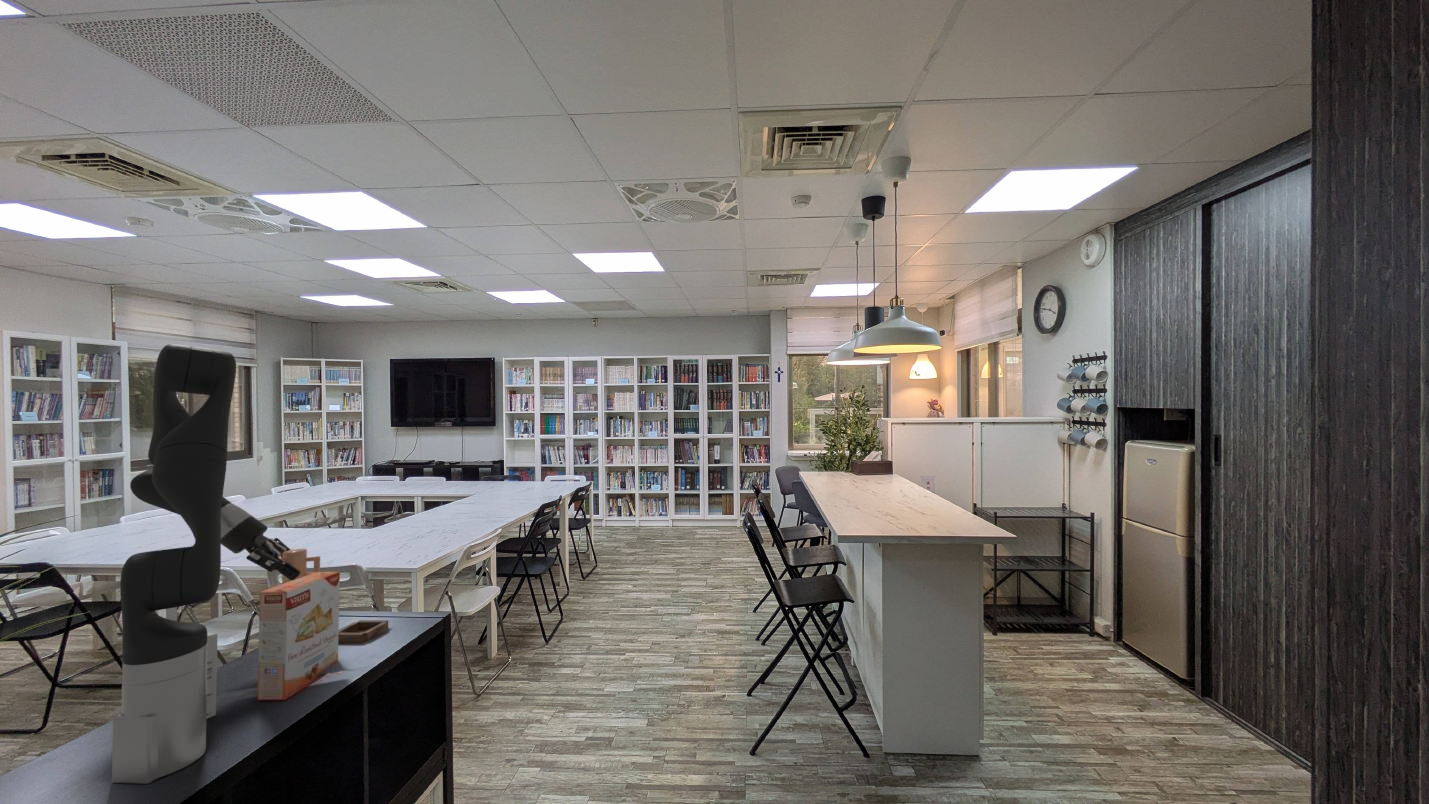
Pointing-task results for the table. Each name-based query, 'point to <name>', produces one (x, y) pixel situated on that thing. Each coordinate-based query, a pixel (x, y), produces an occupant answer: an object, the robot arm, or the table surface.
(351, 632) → the box
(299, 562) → the terracotta jug
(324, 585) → the cracker box
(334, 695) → the table surface
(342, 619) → the table surface
